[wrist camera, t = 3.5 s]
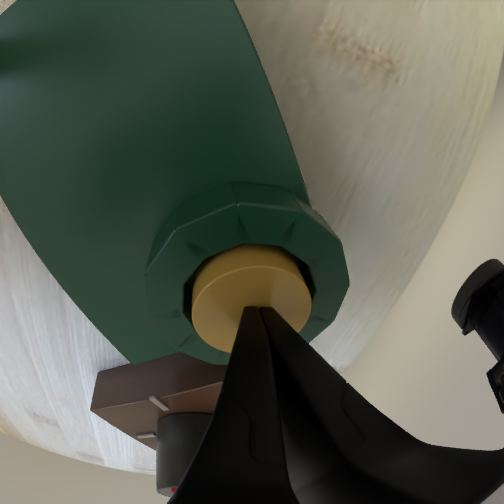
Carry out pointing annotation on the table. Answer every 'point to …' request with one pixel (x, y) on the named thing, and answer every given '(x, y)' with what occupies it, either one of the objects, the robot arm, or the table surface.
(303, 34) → the table surface
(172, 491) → the dimmer knob
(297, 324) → the lamp switch
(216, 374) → the dimmer panel
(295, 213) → the lamp base
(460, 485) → the robot arm
